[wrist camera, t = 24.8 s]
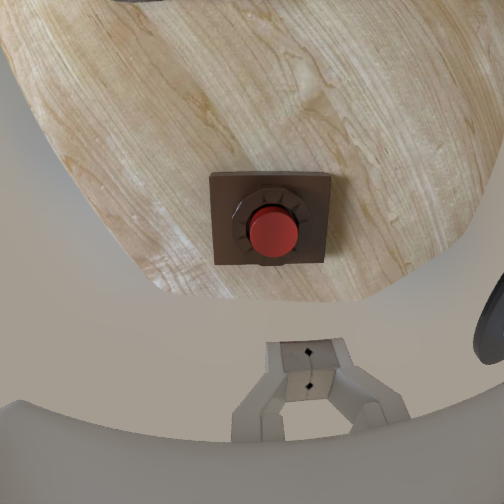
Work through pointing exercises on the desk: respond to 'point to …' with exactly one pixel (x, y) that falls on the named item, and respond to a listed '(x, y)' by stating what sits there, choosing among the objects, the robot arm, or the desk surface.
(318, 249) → the button box
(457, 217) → the desk surface
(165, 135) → the desk surface
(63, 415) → the robot arm
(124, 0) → the lighter
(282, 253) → the light button
